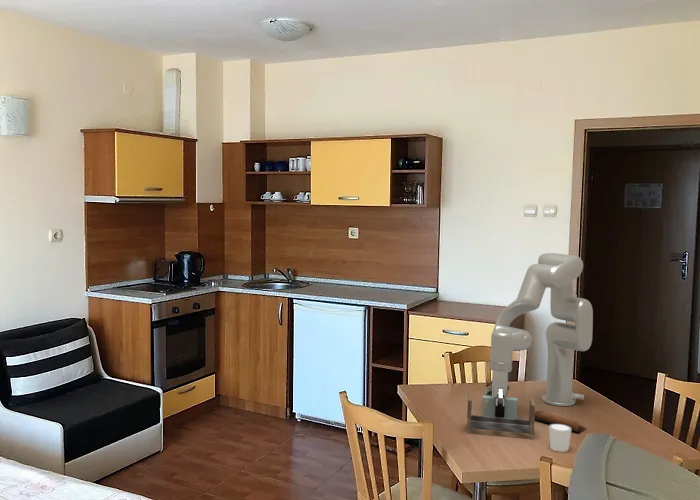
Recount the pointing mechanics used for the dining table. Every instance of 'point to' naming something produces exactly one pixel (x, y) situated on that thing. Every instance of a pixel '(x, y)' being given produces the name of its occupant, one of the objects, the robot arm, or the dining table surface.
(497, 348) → the robot arm
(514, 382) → the dining table surface
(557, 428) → the white cup
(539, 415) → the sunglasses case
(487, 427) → the wooden book rack
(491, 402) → the pale green box
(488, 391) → the passion flower
